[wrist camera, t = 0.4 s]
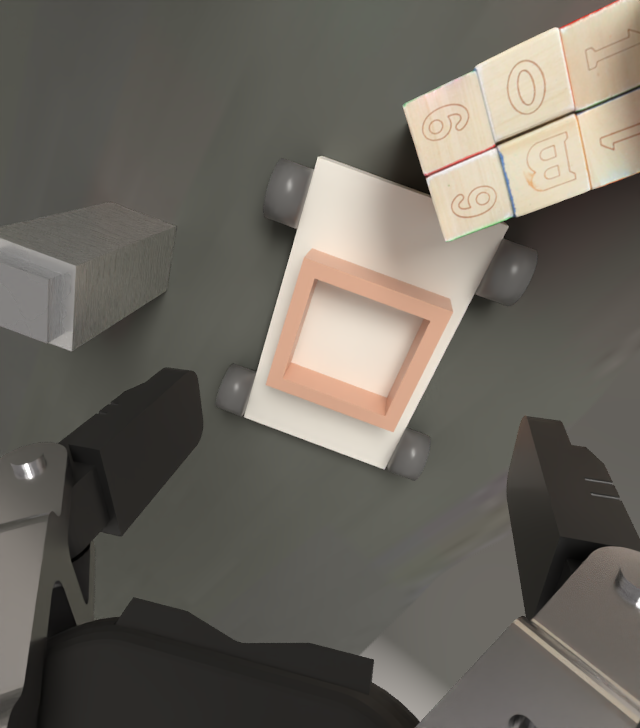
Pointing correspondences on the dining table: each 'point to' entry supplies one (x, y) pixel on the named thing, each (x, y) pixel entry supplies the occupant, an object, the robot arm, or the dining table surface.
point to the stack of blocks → (533, 123)
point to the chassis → (365, 311)
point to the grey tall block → (81, 271)
